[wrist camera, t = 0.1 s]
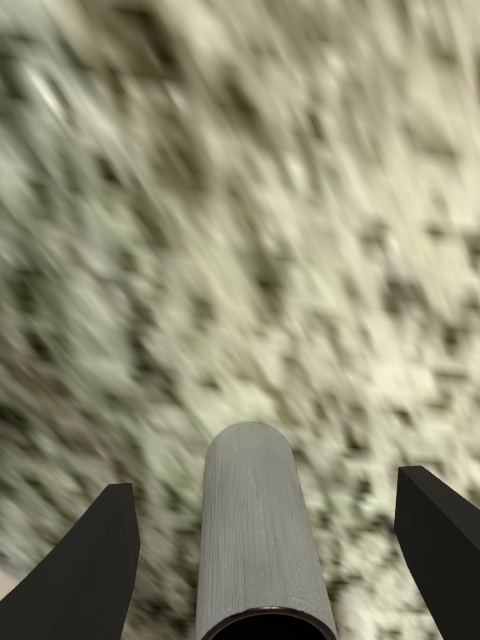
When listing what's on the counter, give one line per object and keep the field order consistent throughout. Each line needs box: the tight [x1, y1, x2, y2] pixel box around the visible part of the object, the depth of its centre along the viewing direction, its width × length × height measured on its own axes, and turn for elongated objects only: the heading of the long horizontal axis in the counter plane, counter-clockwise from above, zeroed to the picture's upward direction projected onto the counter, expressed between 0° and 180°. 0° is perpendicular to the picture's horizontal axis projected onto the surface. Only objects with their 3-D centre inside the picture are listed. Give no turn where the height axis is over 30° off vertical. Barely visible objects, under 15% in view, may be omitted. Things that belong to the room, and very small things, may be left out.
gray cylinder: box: [195, 423, 339, 640], centre depth 18 cm, size 4×4×10 cm
